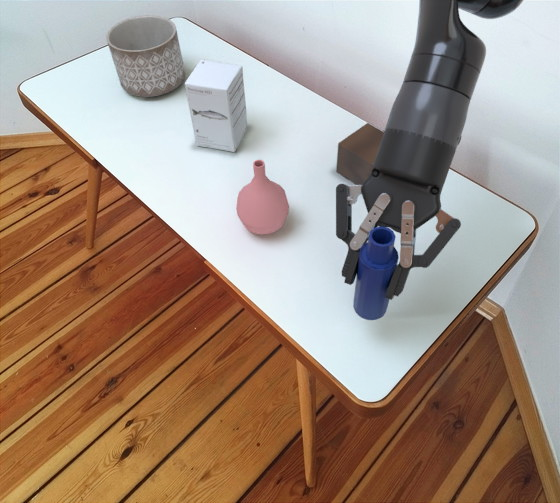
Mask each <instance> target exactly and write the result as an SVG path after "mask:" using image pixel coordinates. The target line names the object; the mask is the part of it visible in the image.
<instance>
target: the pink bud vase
mask: <svg viewBox="0 0 560 503" xmlns="http://www.w3.org/2000/svg"><path fill="white" fill-rule="evenodd" d="M252 167H253V178H252V179H251V181H250V182H249V183H248V184H245V185H244V186H243V187H242V188H241V189H240V190H239V191H238V195H237V200H236V207H235V209H236V215H237V217H238V219H239V221H240V222H241V223H242V225H243V226H244V228H245V230H247V231H249V232H251V233H253V234H257V235H269V234H273V233H275V232H277V231H278V230H280V229H281V228H282V227H283V225H284V224H285V223H286V220H287V217H288V215H289V210H290V204H289V200H288V198H287V193H286V190H285V189H284V188H283V187H282V186H281V185H280V184H279V183H277V182H275V181H272V180H270V179H269V177H268V176H267V175H266V165H265V161H264V160H263V159H256V160H254V161H253V163H252Z"/></svg>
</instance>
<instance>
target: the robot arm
mask: <svg viewBox="0 0 560 503" xmlns="http://www.w3.org/2000/svg"><path fill="white" fill-rule="evenodd" d="M418 2H419V3H418V15H417V26H416V33H415V34H416V35H415V41H414V46H413V50H412V53H411V56H410V60H409V63H408V66H407V69H406V72H405V75H404V78H403V81H402V84H401V86H400V89H399V91H398V93H397V95H396V97H395V99H394V102H393V104H392V106H391V108H390V109H391V110H390V113H389V115H388V119H387V122H386V124H385V127H384V130H383V132H384V134H383V137H382V140H381V143H380V146H379V149H378V152H377V156H376V159H375V162H374V165H373V168H372V171H371V173H370V175H369V177H368V178H367V179H366V180H365V181H364V182H363V184H362V185H356V184H351V185H349V184H345V183H339V184H337V185H336V187H335V235H336V238H338V240H341V241H342V242H344V243H345V244H346V245H347V248H348V249H347V250H348V251H347V254H346V257H345V259H344V263H343V266H342V269H341V277H343V278H344V284H347V285H349V286H351V285H353V284H354V283H355V282H356V277H357V269H358V261H359V253H360V250H361V248H362V246H363V245H364V244H366V243H367V242H368V238H369V233H370V231H371V230H372V229H374V228H375V227H380V226H382V227H387V228H389V229H391V230H392V231H393V232H396V233H398V234H400V253H399V261H398V263H397V265H396V268H395V270H394V273H393V276H392V279H391V282H390V284H389V287H388V290H387V293H386V296H385V298H387V299H389V301H392V300H393V299H394V297H399V296H400V295H401V294H402V292H404V288H405V286H406V282H407V280H408V277H409V275H410V272H411V270H412V269H413V268H423V269H427V268H429V267H430V266H431V264H432V263H433V262H434V261H435V260H436V258H438V256H439V254H440V253H441V252H442V251H443V249H445V247H446V246H447V245H448V243H450V241H451V240H452V238H453V237H454V235H455V234H457V232H458V231H459V229H460V228H461V226H462V221H461V220H460V219H459V218H455V217H453V216H452V215H451V214H450V213H447V212H446V211H445V210H443V209H442V202H441V194H442V191H443V188H444V186H445V183H446V180H447V177H448V174H449V171H450V169H451V165H452V163H453V160H454V157H455V154H456V152H457V148H458V146H459V144H460V143H461V140H462V134H463V131H464V129H465V126H466V121H467V117H468V111H469V107H470V104H471V100H472V98H473V96H474V92H475V90H476V86H477V84H478V80H479V77H480V75H481V72H482V70H483V66H484V64H485V63H484V62H485V60H486V55H487V47H486V44H485V42H484V41H483V39H481V38H480V37H479V36H478V35H477V34H475V33H474V32H473V31H472V30H470V29H469V28H468V27H467V26H466V25H465V24H464V23H463V21H462V20H461V17H460V10H461V11H464V12H466V13H468V14H471V15H473V16H476V17H478V18H482V19H485V20H496V19H500V18H503V17H506V16H508V15H510V14H511V13H513V12H514V11H515V10H517V9H518V8H519V7H520V5H521V4H522V3H523V2H524V0H419V1H418ZM360 195H361V196H362V199H363V202H364V205H365V209H366V212H367V215H366V216H365V217H364V219H363V221H362V222H361V224H360V225H359V227H358V229H357V231H356V233H355V232H353V226H352V225H353V212H352V210H353V208H352V207H353V205H355V204H357V202H358V198H359V196H360ZM433 218H436V220H437V222H436V224H435V230H436V232H437V233H438V234H437V236H436V237H435V238H434V240H433V241H432V242H431V243H430V244H429V246H428V248H427V249H426V250H424V252H423V254H415V250H416V242H417V229H419V228H421V227H422V226H423V225H425V224H426V223H427V222H429V221H430V220H432V219H433Z"/></svg>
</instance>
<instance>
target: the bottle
mask: <svg viewBox="0 0 560 503" xmlns="http://www.w3.org/2000/svg"><path fill="white" fill-rule="evenodd" d="M396 237H397V236H396V234H395V231H394V230H392V229H391V228H389V227H382V226H378V227H375V228H374V229H372V230H371V231H370V233H369V238H368V242H367V243H366V244H364V245H363V246H362V248H361V250H360V253H359V261H358V269H357V275H356V278H355V286H354V293H353V303H352V304H353V306H352V307H353V311H354V313H355V314H356V315H357V316H358V317H360V318H361V319H363V320H366V321H377V320H379V319H381V318H383V317H384V316H385V315H386V313H387V310H388V307H389V304H390V303H389V302H390V299H387V298H385V296H386V293H387V290H388V287H389V284H390V282H391V279H392V276H393V273H394V270H395V268H396V265H398V264H399V259H400V256H399V251H398V250H397V249H396V247H395V242H396Z"/></svg>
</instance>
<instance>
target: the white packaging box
mask: <svg viewBox="0 0 560 503" xmlns="http://www.w3.org/2000/svg"><path fill="white" fill-rule="evenodd" d="M184 87H185V93H186V98H187V102H188V103H187V104H188V109H189V114H190V119H191V124H192V130H193V135H194V140H195V145H196V146H197V147H203V148H209V149H215V150H221V151H225V152H231V153H236V151H237V149H238V147H239V145H240V143H241V141H242V140H243V137H244V135H245V134H246V131H247V129H248V115H247V114H248V113H247V104H246V95H245V94H246V93H245V81H244V68H243V65H242V64H235V63H230V62H229V63H228V62H221V61H215V60H214V61H213V60H208V59H207V60H206V59H200V60H199V61H198V62H197V64H196V66H195V67H194V69H193V70H192V72H191V73H190V74H189V76H188V78H187V79H186V80H185V82H184Z"/></svg>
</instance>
